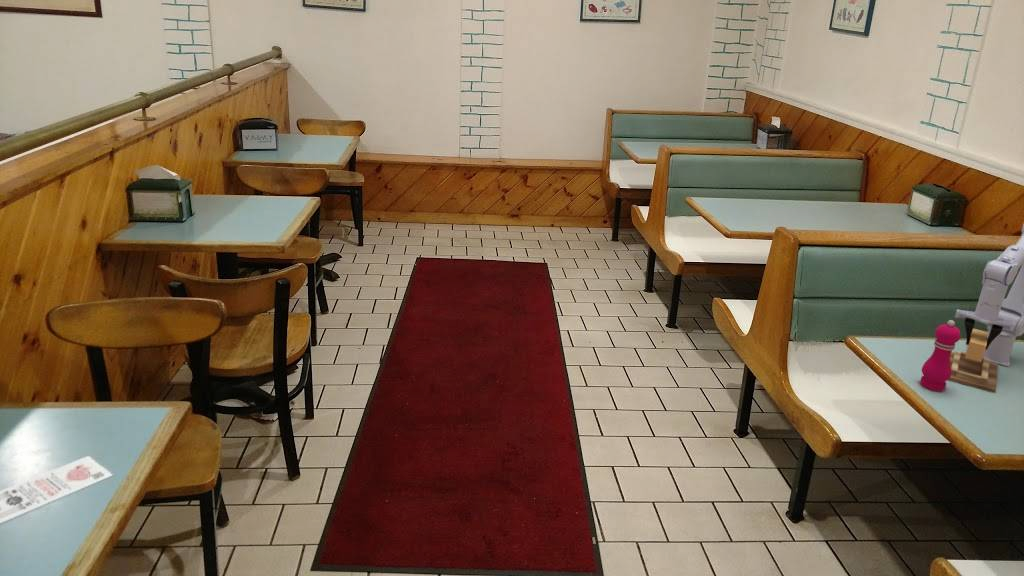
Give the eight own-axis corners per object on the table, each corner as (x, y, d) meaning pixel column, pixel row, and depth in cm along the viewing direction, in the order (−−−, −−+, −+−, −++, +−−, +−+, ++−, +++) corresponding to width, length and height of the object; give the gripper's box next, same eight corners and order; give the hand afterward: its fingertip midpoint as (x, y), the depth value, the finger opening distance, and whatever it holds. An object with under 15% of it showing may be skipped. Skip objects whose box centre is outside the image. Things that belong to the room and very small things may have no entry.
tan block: (967, 343, 224) (972, 328, 223) (983, 347, 222) (988, 332, 221) (965, 357, 215) (970, 341, 213) (981, 362, 213) (986, 346, 211)
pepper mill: (951, 388, 210) (972, 322, 203) (938, 394, 207) (958, 327, 199) (926, 377, 216) (945, 313, 209) (912, 383, 212) (931, 317, 205)
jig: (944, 353, 232) (946, 345, 231) (997, 366, 225) (999, 359, 225) (938, 377, 216) (940, 369, 215) (994, 392, 210) (997, 384, 209)
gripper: (960, 299, 213) (947, 343, 218) (1020, 313, 206) (1005, 358, 211) (961, 292, 219) (949, 335, 224) (1020, 305, 212) (1005, 349, 217)
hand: (976, 346), depth 218 cm, fingers closed on tan block, 4 cm apart
